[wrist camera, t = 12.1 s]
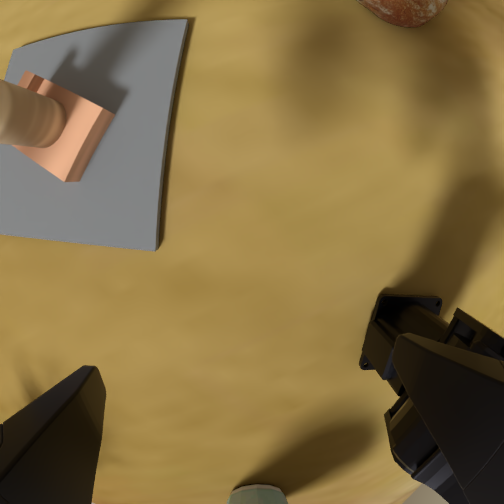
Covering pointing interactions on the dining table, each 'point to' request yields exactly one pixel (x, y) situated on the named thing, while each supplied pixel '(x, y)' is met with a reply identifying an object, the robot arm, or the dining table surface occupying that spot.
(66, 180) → the cylinder on pink base
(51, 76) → the mat
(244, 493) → the disposable coffee cup
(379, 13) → the bread roll
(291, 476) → the dining table surface
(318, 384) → the dining table surface
